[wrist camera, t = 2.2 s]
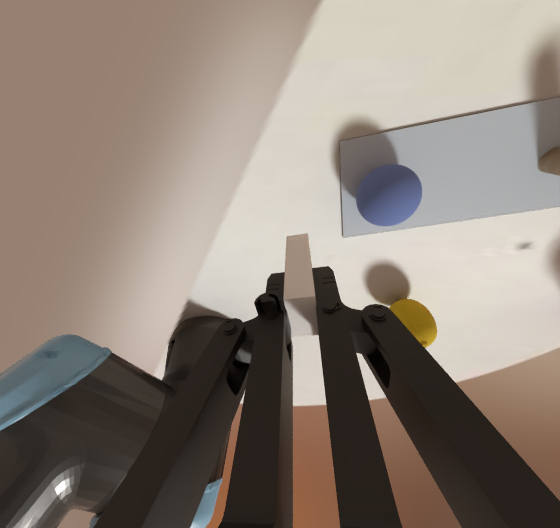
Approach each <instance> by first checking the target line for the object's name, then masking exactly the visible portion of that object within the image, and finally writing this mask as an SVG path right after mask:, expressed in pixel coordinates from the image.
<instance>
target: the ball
mask: <svg viewBox="0 0 560 528" xmlns="http://www.w3.org/2000/svg"><path fill="white" fill-rule="evenodd" d="M421 198H422V185H421V182H420V179H419V178H418V176H417V175H416V174H415V172H414V171H412V170H411V169H409V168H408V167H406V166H403V165H398V164H389V165H384V166H381V167H378V168H376V169H374V170H373V171H371V172H370V173H369V174H368V175H367V176H366V177H365V178H364V179H363V180H362V182H361V183H360V185H359V187H358V190H357V194H356V204H357V208H358V211H359V213H360V214H361V216H362V217H363V218H364V219H365V220H366V221H368V222H369V223H371V224H374V225H377V226H385V227H386V226H393V225H397V224H399V223H402V222H403V221H405V220H407V219H408V218H409V217H410V216H411V215H412V214H413V213H414V212H415V211H416V209H417V208H418V206H419V204H420V202H421Z"/></svg>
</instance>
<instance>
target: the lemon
mask: <svg viewBox="0 0 560 528" xmlns="http://www.w3.org/2000/svg"><path fill="white" fill-rule="evenodd" d="M389 309H390V310H391V311H392V312H393V313H394V314H395V315H396V316H397V317H398V318H399V319H400V321H401V322H402V323H403V324H404V325H405V326H406V327H407V329H408V330H409V331H410V332H411V333H412V334H413V335H414V337H415V338H416V339H417V340H418V341H419V342H420V343H421V344H422V346H423V347H424V348H426V347H427V346H429V345H430V344H432V343H433V341H434V340H435V338H436V336H437V327H436V323H435V320H434V318H433V316H432V314H431V313H430V312H429V310H428V309H427V308H426V307H425V306H424V305H422V304H421V303H419V302H417V301H415V300H411V299H401V300H398V301H396V302H394V303H393V304H392V305H391V306H390V308H389Z"/></svg>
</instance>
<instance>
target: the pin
mask: <svg viewBox="0 0 560 528" xmlns="http://www.w3.org/2000/svg"><path fill="white" fill-rule="evenodd" d="M538 169H539V171H541V172H545V173H549V174H554V175H558V176H560V146H559V147H555V148H552V149H550V150H549V151H547V152H546V153H545V154H544V155H543V156H542V157H541V159H540V160H539V163H538Z"/></svg>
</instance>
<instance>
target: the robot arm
mask: <svg viewBox="0 0 560 528" xmlns="http://www.w3.org/2000/svg"><path fill="white" fill-rule="evenodd" d="M254 304H255V307H256V310H257V312H258V316H257V317H255V318H254V319H252V320H249V321H246V322H242V321H241V320H240V319H237V318H233V319H229V320H225V319H222V318H217V317H195V318H191V319H188V320H186V321H184V322H182V323H181V324H180V325H179V326H178V327H177V328H176V330H175V331H174V333H173V335H172V337H171V339H170V342H169V346H168V353H167V359H166V366H165V373H164V377H163V379H162V381H161V380H159V379H158V378H156V377H154V376H152V375H151V374H149V373H147V372H145V371H144V370H142V369H140V368H138V367H137V366H135V365H133V364H131V363H129V362H128V361H126V360H124V359H122V358H120V357H119V356H117V355H115V354H114V353H112V352H111V350H110V349H108V348H105V347H104V348H102V347H100V346H98V345H96V344H94V343H92V342H90V341H88V340H86V339H84V338H82V337H80V336H77V335H61V336H57V337H54V338H52V339H50V340H48V341H47V342H45V343H44V344H42V345H41V346H39V347H38V348H36V349H35V350H33V351H32V352H31V353H29V354H28V355H26V356H25V357H23V358H22V359H21V360H19V361H18V362H16V363H15V364H13V365H12V366H11V367H9V368H8V369H7V370H5V371H4V372H3V373H1V374H0V528H57V527H58V525H59V524H60V523H61V521H62V520H63V518H64V517H65V516H66V515H67V513H68V512H69V511H70V510H72V509H78V510H83V511H88V512H92V513H96V515H95V516H93V518H92V520H91V522H90V528H205V527H206V526H207V524H208V523H209V522H210V520H211V517H212V515H213V512H214V507H215V503H216V499H217V495H218V491H219V487H220V484H221V482H222V475H223V469H224V464H225V458H226V453H227V447H228V442H229V436H230V431H231V425H232V422H233V419H234V416H235V414H236V411H237V409H238V406H239V404H240V401H241V399H242V396H243V394H244V391H245V396H244V401H243V407H242V413H241V419H240V425H239V431H238V436H237V442H236V448H235V455H234V460H233V466H232V472H231V478H230V483H229V490H228V495H227V501H226V507H225V512H224V516H223V519H222V522H221V523H220V525H219V527H218V528H293V346H292V341H291V334H292V337H297V336H309V335H319V342H320V350H321V359H322V368H323V377H324V386H325V395H326V404H327V412H328V421H329V430H330V439H331V447H332V456H333V466H334V474H335V483H336V492H337V501H338V510H339V519H340V528H402V525H401V522H400V519H399V515H398V512H397V508H396V504H395V500H394V496H393V493H392V488H391V485H390V481H389V477H388V473H387V469H386V465H385V462H384V458H383V454H382V450H381V446H380V443H379V439H378V435H377V431H376V427H375V424H374V420H373V416H372V412H371V408H370V404H369V400H368V396H367V393H366V389H365V385H364V381H363V377H362V374H361V370H360V366H359V362H358V358H357V354H356V353H360V354H362V356H363V357H364V359H365V361H366V362H367V364H368V366H369V368H370V369H371V371H372V373H373V375H374V376H375V378H376V380H377V381H378V383H379V385H380V387H381V388H382V390H383V392H384V394H385V395H386V397H387V399H388V400H389V402H390V404H391V406H392V407H393V409H394V411H395V412H396V414H397V416H398V418H399V419H400V421H401V423H402V425H403V426H404V428H405V430H406V431H407V433H408V435H409V437H410V438H411V440H412V442H413V444H414V445H415V447H416V449H417V451H418V452H419V454H420V456H421V458H422V459H423V461H424V463H425V464H426V466H427V468H428V470H429V471H430V473H431V475H432V477H433V478H434V480H435V482H436V483H437V485H438V487H439V489H440V490H441V492H442V494H443V495H444V497H445V499H446V501H447V503H448V504H449V506H450V508H451V509H452V511H453V513H454V515H455V516H456V518H457V520H458V522H459V523H460V525H461V527H462V528H560V501H559V500H558V499H557V498H556V496H555V495H554V494H553V493H552V492H551V491H550V490H549V488H548V487H547V486H546V485H545V484H544V483H543V482H542V481H541V479H540V478H539V477H538V476H537V475H536V474H535V473H534V471H533V470H532V469H531V468H530V467H529V466H528V465H527V464H526V462H525V461H524V460H523V459H522V458H521V457H520V456H519V455H518V453H517V452H516V451H515V450H514V449H513V448H512V447H511V445H510V444H509V443H508V442H507V441H506V440H505V439H504V437H503V436H502V435H501V434H500V433H499V432H498V431H497V430H496V428H495V427H494V426H493V425H492V424H491V423H490V422H489V421H488V419H487V418H486V417H485V416H484V415H483V414H482V413H481V411H480V410H479V409H478V408H477V407H476V406H475V405H474V403H473V402H472V401H471V400H470V399H469V398H468V397H467V396H466V394H465V393H464V392H463V391H462V390H461V389H460V388H459V386H458V385H457V384H456V383H455V382H454V381H453V380H452V378H451V377H450V376H449V375H448V374H447V373H446V372H445V371H444V369H443V368H442V367H441V366H440V365H439V364H438V363H437V361H436V360H435V359H434V358H433V357H432V356H431V355H430V354H429V352H428V351H427V350H426V349H425V348H424V347H423V346H422V344H421V343H420V342H419V341H418V340H417V339H416V338H415V337H414V335H413V334H412V333H411V332H410V331H409V330H408V329H407V327H406V326H405V325H404V324H403V323H402V322H401V321H400V319H399V318H398V317H397V316H396V315H395V314H394V313H393V312H392V311H391V310H390V309H389V308H388V307H385V306H383V305H378V304H373V305H368V306H366V307H365V308H364V309H363V310H356V309H351V308H349V307H347V306H345V305H344V304H343V303H342V302H341V299H340V296H339V292H338V288H337V284H336V280H335V276H334V272H333V270H332V269H331V268H330V267H329V266H327V267H319V268H312V264H311V256H310V248H309V240H308V234H301V235H294V236H287V241H286V259H285V272H283V273H274V274H271V275H270V277H269V278H268V280H267V287H266V293H264V294H262V295H260V296H259V297H258V298H257V299H256V300H255V302H254ZM245 389H246V390H245Z"/></svg>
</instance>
